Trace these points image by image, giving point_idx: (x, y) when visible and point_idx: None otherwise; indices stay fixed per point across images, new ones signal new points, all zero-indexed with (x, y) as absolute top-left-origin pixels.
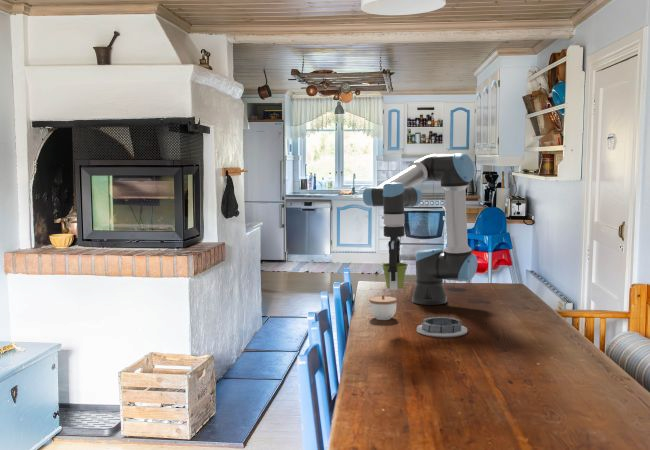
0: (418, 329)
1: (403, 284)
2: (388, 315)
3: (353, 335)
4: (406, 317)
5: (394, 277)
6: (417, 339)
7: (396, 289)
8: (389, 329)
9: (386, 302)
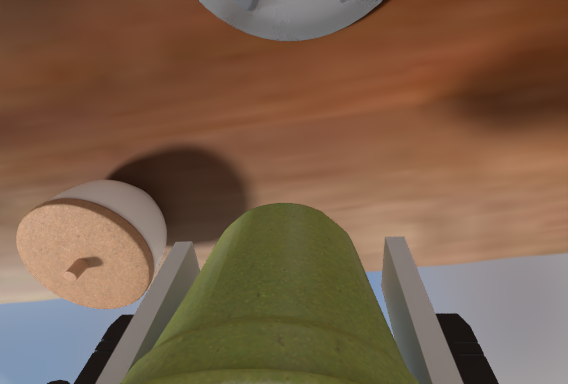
0: (337, 24)
1: (299, 218)
2: (149, 198)
3: None
4: (70, 125)
5: (482, 355)
6: (487, 5)
7: (404, 245)
8: (305, 163)
9: (137, 239)
